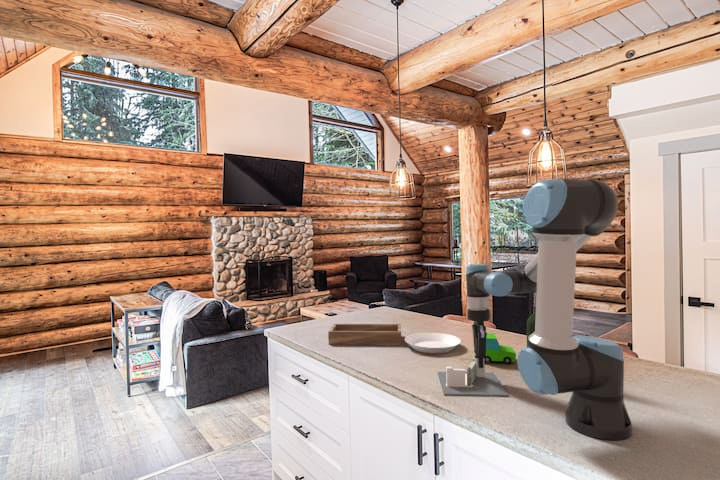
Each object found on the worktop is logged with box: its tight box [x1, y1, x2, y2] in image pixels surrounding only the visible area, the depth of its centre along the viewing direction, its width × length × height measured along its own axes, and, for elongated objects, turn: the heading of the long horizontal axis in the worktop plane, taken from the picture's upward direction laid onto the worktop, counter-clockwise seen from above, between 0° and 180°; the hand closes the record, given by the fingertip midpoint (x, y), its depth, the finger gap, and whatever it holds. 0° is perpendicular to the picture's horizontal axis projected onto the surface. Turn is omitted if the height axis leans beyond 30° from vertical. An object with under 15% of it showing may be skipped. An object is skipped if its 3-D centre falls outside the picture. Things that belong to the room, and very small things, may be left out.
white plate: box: [404, 332, 462, 354], centre depth 180 cm, size 25×25×4 cm
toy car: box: [484, 332, 517, 365], centre depth 160 cm, size 10×13×10 cm
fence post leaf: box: [445, 366, 471, 386], centre depth 134 cm, size 2×8×7 cm, turn 85°
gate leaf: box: [468, 356, 476, 383], centre depth 139 cm, size 10×2×6 cm, turn 153°
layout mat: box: [437, 371, 510, 397], centre depth 136 cm, size 20×20×1 cm
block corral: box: [327, 323, 402, 346], centre depth 194 cm, size 16×34×6 cm, turn 85°
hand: (480, 376), depth 139 cm, fingers closed
